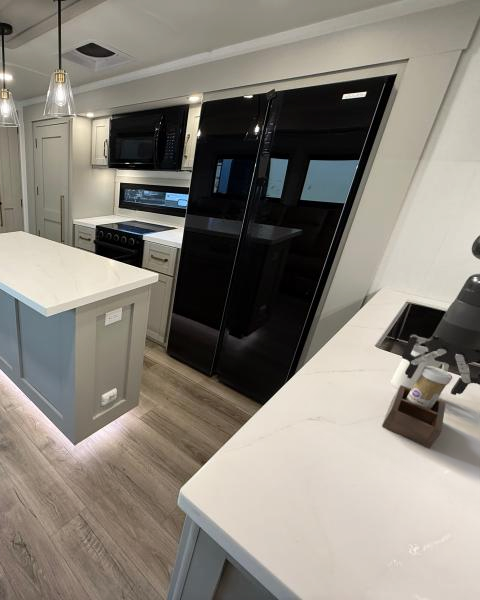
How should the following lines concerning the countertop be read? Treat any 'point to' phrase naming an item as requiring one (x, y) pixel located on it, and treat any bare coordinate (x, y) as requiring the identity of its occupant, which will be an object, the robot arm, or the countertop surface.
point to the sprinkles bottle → (429, 386)
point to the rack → (414, 419)
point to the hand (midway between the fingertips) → (430, 384)
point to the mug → (401, 377)
